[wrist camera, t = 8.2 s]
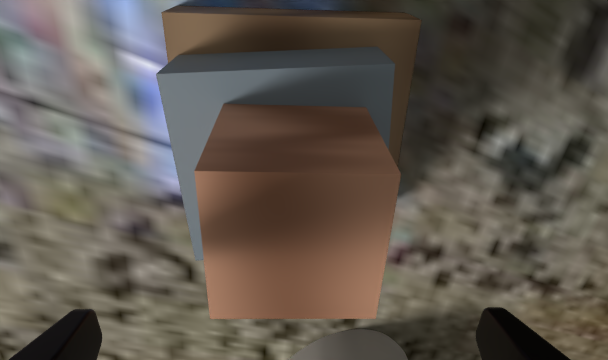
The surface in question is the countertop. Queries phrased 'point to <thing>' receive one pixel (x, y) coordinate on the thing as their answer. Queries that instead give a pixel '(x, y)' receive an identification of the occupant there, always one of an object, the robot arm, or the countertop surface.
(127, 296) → the countertop surface
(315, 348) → the lumpy-topped squat cylinder
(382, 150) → the terracotta block
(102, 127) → the countertop surface
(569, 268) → the countertop surface
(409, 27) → the walnut base slab
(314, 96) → the slate top slab
